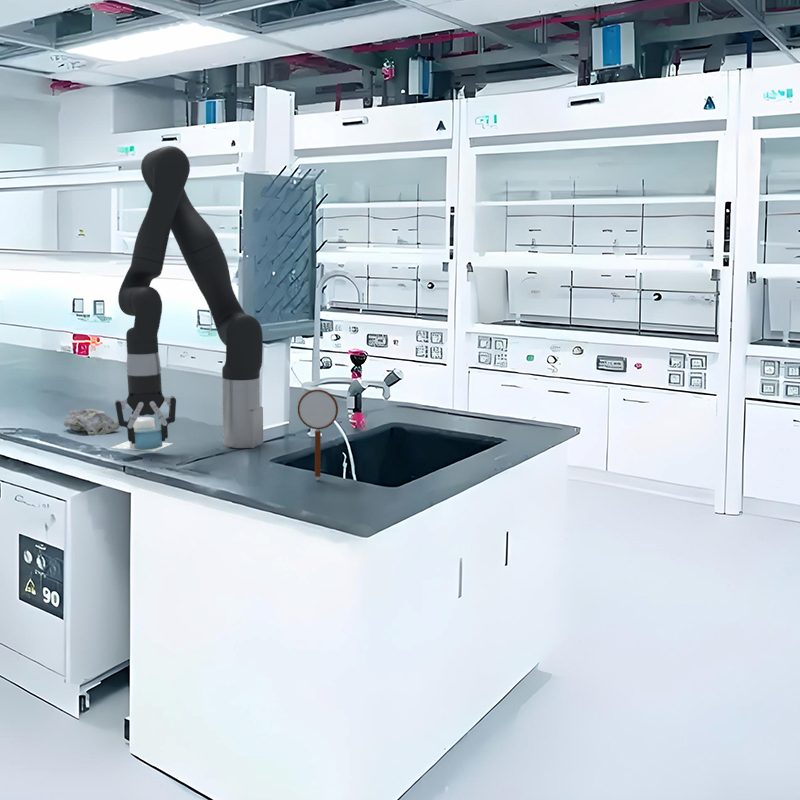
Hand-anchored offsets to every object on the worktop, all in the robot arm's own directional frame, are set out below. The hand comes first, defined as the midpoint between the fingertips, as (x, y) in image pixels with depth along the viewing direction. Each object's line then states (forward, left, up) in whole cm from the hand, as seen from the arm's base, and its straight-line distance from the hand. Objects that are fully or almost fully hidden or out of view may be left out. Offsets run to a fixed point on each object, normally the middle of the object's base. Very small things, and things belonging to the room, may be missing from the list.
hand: (148, 441), depth 203 cm
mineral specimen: (+28, -19, -4) cm, 34 cm away
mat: (+7, -8, -4) cm, 12 cm away
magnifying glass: (-45, +7, -4) cm, 46 cm away
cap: (0, 0, -1) cm, 1 cm away
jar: (+6, -7, -3) cm, 10 cm away
